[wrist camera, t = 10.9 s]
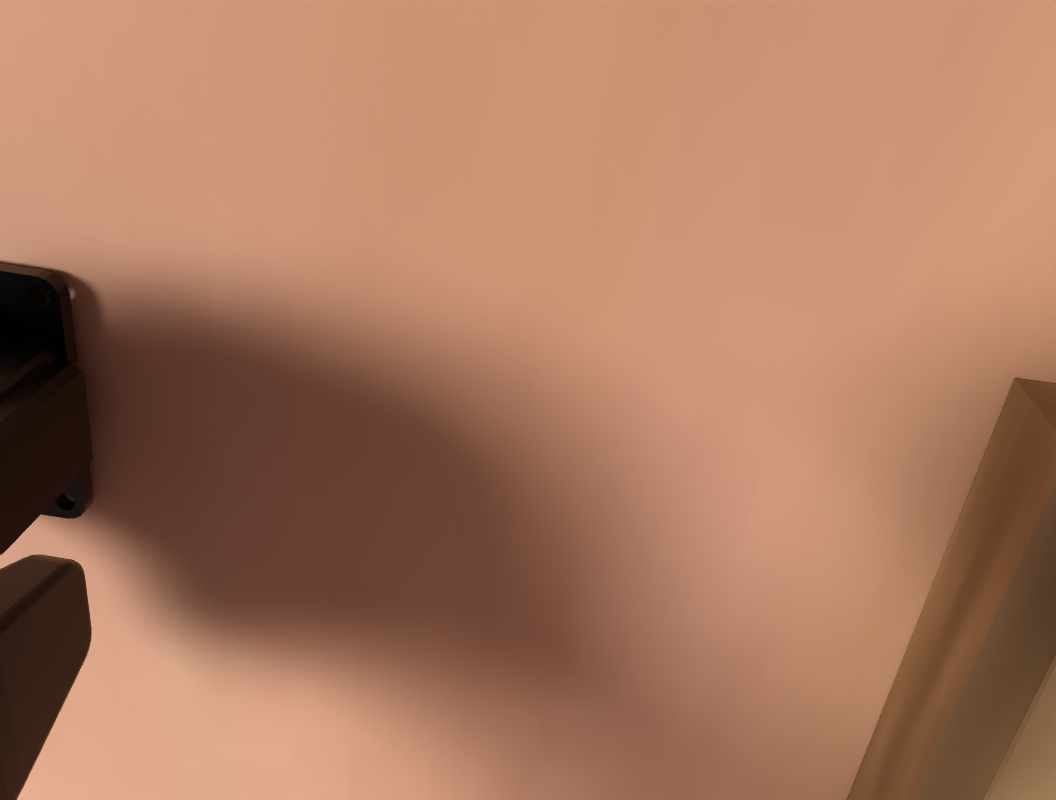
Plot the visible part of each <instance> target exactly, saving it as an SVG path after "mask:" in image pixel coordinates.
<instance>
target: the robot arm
mask: <svg viewBox="0 0 1056 800" xmlns="http://www.w3.org/2000/svg"><path fill="white" fill-rule="evenodd" d="M37 287H40V288H43V289H44V290H45V291H46V292H47V294H48V296H49V301H47V300H45V299H43V298H42V297H41V296H40V295H39V294H38V291H37ZM92 460H93V451H92V442H91V433H90V424H89V415H88V407H87V398H86V389H85V380H84V373H83V371H82V369H81V367H80V366H79V364H78V363H77V355H76V346H75V338H74V329H73V320H72V312H71V303H70V295H69V291H68V288H67V285H66V284H65V282H64V281H63V280H62V278H60V277H59V276H58V275H56V274H55V273H54V272H51V271H48V270H44V269H37V268H30V267H24V266H17V265H10V264H4V263H0V555H2V554H3V553H4V552H5V551H6V550H7V549H8V548H9V547H10V546H11V545H12V544H13V543H14V542H15V541H16V540H17V539H18V537H19V536H20V535H21V534H22V533H23V532H24V531H25V530H26V529H27V528H28V527H29V526H30V525H31V524H32V523H33V522H34V521H35V520H36V519H37V518H38V517H39V516H40V515H41V514H43V515H49V516H55V517H62V518H77V517H79V516H81V515H82V514H83V513H84V512H85V510H86V509H87V508H88V507H89V506H90V505H91V503H92V500H93V492H92V483H91V475H90V466H89V463H90V462H91V461H92ZM64 493H65V494H67V495H70V496H71V497H72V498H73V499H74V501H75V502H74V501H72V500H69V499H68V498H67V497H66V496H65V494H64ZM91 633H92V632H91V621H90V613H89V605H88V597H87V589H86V581H85V575H84V571H83V568H82V567H81V565H80V564H79V563H78V562H76V561H74V560H71V559H65V558H58V557H52V556H46V555H31V556H28V557H25V558H23V559H21V560H19V561H17V562H14V563H12V564H10V565H8V566H6V567H4V568H2V569H0V800H17V798H18V796H19V794H20V793H21V791H22V789H23V787H24V785H25V783H26V781H27V779H28V776H29V774H30V772H31V770H32V768H33V766H34V764H35V762H36V760H37V758H38V756H39V754H40V752H41V750H42V748H43V745H44V743H45V741H46V739H47V737H48V735H49V733H50V731H51V729H52V727H53V725H54V723H55V721H56V719H57V716H58V714H59V712H60V710H61V708H62V706H63V704H64V702H65V700H66V698H67V696H68V694H69V692H70V690H71V688H72V685H73V683H74V681H75V679H76V677H77V675H78V673H79V671H80V669H81V667H82V665H83V663H84V661H85V658H86V656H87V653H88V650H89V647H90V642H91Z"/></svg>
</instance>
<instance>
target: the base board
mask: <svg viewBox="0 0 1056 800" xmlns="http://www.w3.org/2000/svg"><path fill="white" fill-rule="evenodd" d="M847 800H1056V384H1053V383H1047V382H1040V381H1033V380H1026V379H1019V378H1015V379H1014V381H1013V384H1012V386H1011V389H1010V391H1009V394H1008V396H1007V399H1006V401H1005V404H1004V406H1003V409H1002V411H1001V414H1000V416H999V419H998V422H997V424H996V427H995V429H994V432H993V434H992V437H991V439H990V442H989V444H988V447H987V449H986V452H985V454H984V457H983V459H982V462H981V464H980V467H979V469H978V472H977V474H976V477H975V479H974V482H973V484H972V487H971V489H970V492H969V494H968V497H967V499H966V502H965V504H964V507H963V509H962V512H961V515H960V517H959V520H958V522H957V525H956V527H955V530H954V532H953V535H952V537H951V540H950V542H949V545H948V547H947V550H946V552H945V555H944V557H943V560H942V562H941V565H940V567H939V570H938V572H937V575H936V577H935V580H934V582H933V585H932V587H931V590H930V592H929V595H928V597H927V600H926V603H925V605H924V608H923V610H922V613H921V615H920V618H919V620H918V623H917V625H916V628H915V630H914V633H913V635H912V638H911V640H910V643H909V645H908V648H907V650H906V653H905V655H904V658H903V660H902V663H901V665H900V668H899V670H898V673H897V675H896V678H895V680H894V683H893V685H892V688H891V690H890V693H889V696H888V698H887V701H886V703H885V706H884V708H883V711H882V713H881V716H880V718H879V721H878V723H877V726H876V728H875V731H874V733H873V736H872V738H871V741H870V743H869V746H868V748H867V751H866V753H865V756H864V758H863V761H862V763H861V766H860V768H859V771H858V773H857V776H856V778H855V781H854V784H853V786H852V789H851V791H850V794H849V796H848V799H847Z"/></svg>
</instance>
